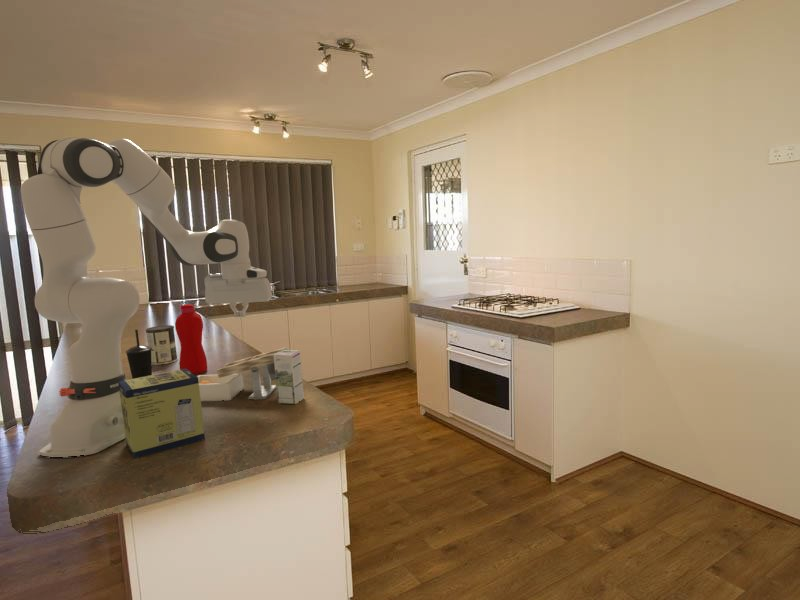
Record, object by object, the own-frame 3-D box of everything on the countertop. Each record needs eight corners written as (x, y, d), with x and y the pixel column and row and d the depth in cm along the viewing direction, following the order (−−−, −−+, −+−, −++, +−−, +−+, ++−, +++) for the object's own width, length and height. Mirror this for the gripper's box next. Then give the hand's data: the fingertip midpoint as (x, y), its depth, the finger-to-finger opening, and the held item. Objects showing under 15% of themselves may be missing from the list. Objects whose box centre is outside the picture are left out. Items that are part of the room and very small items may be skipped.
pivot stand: (265, 399, 145) (262, 366, 144) (248, 399, 146) (245, 367, 144) (276, 387, 157) (274, 356, 156) (261, 387, 157) (258, 357, 156)
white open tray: (230, 400, 146) (228, 383, 145) (184, 401, 147) (182, 385, 146) (243, 388, 157) (242, 373, 156) (200, 390, 158) (198, 375, 157)
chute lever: (299, 364, 161) (292, 342, 160) (287, 376, 146) (279, 352, 146) (241, 380, 162) (234, 358, 161) (224, 393, 148) (216, 370, 147)
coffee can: (167, 357, 208) (164, 324, 206) (183, 360, 202) (179, 325, 200) (144, 363, 199) (139, 329, 197) (159, 366, 194) (155, 330, 192)
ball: (209, 383, 149) (196, 381, 150) (207, 396, 150) (195, 394, 150) (214, 380, 153) (202, 378, 153) (213, 392, 154) (200, 390, 154)
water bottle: (213, 372, 179) (206, 304, 176) (180, 377, 175) (172, 307, 172) (212, 366, 188) (205, 301, 185) (181, 371, 184) (173, 304, 181)
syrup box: (304, 398, 144) (300, 349, 143) (295, 405, 139) (291, 354, 137) (287, 397, 146) (283, 349, 144) (276, 404, 140) (272, 354, 138)
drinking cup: (125, 392, 160) (117, 331, 157) (146, 385, 166) (139, 327, 164) (140, 395, 156) (132, 332, 154) (161, 388, 163) (154, 328, 160)
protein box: (125, 445, 117) (116, 380, 115) (194, 427, 126) (187, 367, 124) (133, 459, 108) (124, 390, 106) (206, 439, 118) (199, 375, 116)
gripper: (199, 274, 151) (203, 319, 153) (265, 271, 150) (268, 317, 152) (208, 273, 158) (211, 316, 159) (271, 270, 157) (274, 314, 158)
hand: (240, 317), depth 155 cm, fingers closed
